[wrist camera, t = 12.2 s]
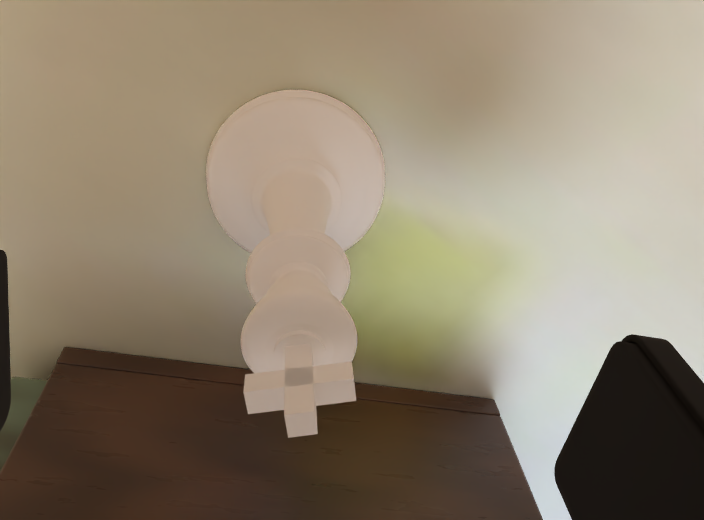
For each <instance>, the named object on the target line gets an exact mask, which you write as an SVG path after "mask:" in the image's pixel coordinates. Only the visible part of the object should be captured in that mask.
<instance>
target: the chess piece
mask: <svg viewBox="0 0 704 520" xmlns="http://www.w3.org/2000/svg"><path fill="white" fill-rule="evenodd" d="M206 181H207V191H208V197H209V201H210V205H211V207H212V210H213V213H214V215H215V217H216V219H217V220H218V222H219V224H220V225H221V227H222V228H223V229H224V231H225V232H226V233H227V234H228V235H229V236H230V238H231V239H232V240H234V241H235V242H236V243H237V244H238V245H239V246H241V247H242V248H244V249H245V250H247V251H248V252H250V253H251V255H250V257H249V259H248V261H247V265H246V272H245V277H246V284H247V287H248V290H249V292H250V294H251V296H252V298H253V300H254V301H255V303H256V305H255V307H254V308H253V309H252V311H251V312H250V314H249V315H248V317H247V319H246V321H245V323H244V326H243V329H242V333H241V350H242V354H243V357H244V359H245V362H246V363H247V365H248V367H249V368H250V369H251V371H252V372H253V374H245V381H244V391H243V393H244V398H245V402H246V407H247V412H248V414H254V413H262V412H270V411H278V410H284V417H285V423H286V428H287V434H288V438H290V437H298V436H306V435H314V434H318V431H317V410H316V406H319V405H327V404H335V403H343V402H351V401H356V393H355V384H354V375H353V368H352V360H353V358H354V356H355V353H356V349H357V331H356V327H355V324H354V321H353V319H352V317H351V315H350V314H349V312H348V311H347V309H346V308H345V307H344V306H343V304H342V303H341V301H342V299H343V298H344V296H345V294H346V292H347V289H348V287H349V283H350V276H351V271H350V264H349V261H348V258H347V256H346V254H345V252H344V251H346V250H348V249H349V248H351V247H352V246H353V245H354V244H356V243H357V242H358V241H359V240H360V239H361V238H362V237H363V236H364V235H365V234H366V232H367V231H368V230H369V229H370V227H371V226H372V224H373V222H374V221H375V219H376V217H377V215H378V213H379V210H380V207H381V204H382V201H383V196H384V188H385V164H384V159H383V154H382V151H381V148H380V145H379V143H378V140H377V138H376V136H375V135H374V133H373V131H372V130H371V128H370V127H369V126H368V124H367V123H366V122H365V121H364V119H363V118H362V117H361V116H360V115H359V114H358V113H356V112H355V111H354V110H353V109H352V108H350V107H349V106H347V105H346V104H344V103H343V102H341V101H339V100H337V99H335V98H333V97H330V96H328V95H325V94H322V93H318V92H314V91H308V90H281V91H276V92H271V93H268V94H265V95H262V96H259V97H257V98H255V99H253V100H251V101H249V102H247V103H246V104H244V105H243V106H241V107H240V108H238V109H237V110H236V111H235V112H234V113H232V114H231V115H230V116H229V117H228V119H227V120H226V121H225V122H224V123H223V125H222V126H221V127H220V129H219V130H218V132H217V134H216V135H215V137H214V139H213V142H212V144H211V147H210V150H209V154H208V158H207V165H206Z"/></svg>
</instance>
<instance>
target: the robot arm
mask: <svg viewBox="0 0 704 520" xmlns="http://www.w3.org/2000/svg"><path fill="white" fill-rule="evenodd" d="M10 404H11V376H10V342H9V307H8V272H7V256H6V253H5V252H4V251H3V250H0V431H1V429H2V428H3V426H4V424H5V422H6V419H7V417H8V413H9V409H10ZM555 480H556V484H557V486H558V489H559V491H560V493H561V495H562V498H563V500H564V502H565V505H566V507H567V509H568V511H569V514H570V516H571V518H572V520H704V383H703V382H702V381H701V379H700V378H699V377H698V376H697V375H696V373H695V372H694V371H693V370H692V369H691V367H690V366H689V365H688V364H687V363H686V361H685V360H684V359H683V358H682V357H681V355H680V354H679V353H678V352H677V351H676V349H675V348H674V347H673V346H672V345H671V343H669V342H668V341H667V340H664V339H659V338H652V337H646V336H639V335H628V336H626V337H625V338H624V339H623V340H622V342H616V343H615V344H614V345H613V346H612V348H611V349H610V351H609V353H608V355H607V357H606V359H605V361H604V363H603V365H602V368H601V370H600V372H599V374H598V376H597V378H596V380H595V382H594V384H593V386H592V388H591V390H590V392H589V394H588V396H587V398H586V401H585V403H584V405H583V407H582V409H581V411H580V413H579V415H578V417H577V419H576V421H575V423H574V425H573V427H572V429H571V432H570V434H569V436H568V438H567V440H566V442H565V444H564V446H563V448H562V450H561V452H560V454H559V456H558V458H557V461H556V464H555Z"/></svg>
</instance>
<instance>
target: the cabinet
mask: <svg viewBox="0 0 704 520" xmlns="http://www.w3.org/2000/svg"><path fill="white" fill-rule="evenodd" d="M245 374H253V372H252V371H251V370H248V369H240V368H232V367H224V366H216V365H208V364H199V363H191V362H183V361H175V360H167V359H159V358H151V357H143V356H134V355H126V354H118V353H110V352H102V351H94V350H86V349H78V348H69V347H64V349H63V351H62V353H61V355H60V357H59V358H58V360H57V364H56V365H55V367H54V369H53V371H52V373H51V375H50V377H49V379H48V381H47V383H46V385H45V387H44V388H43V390H42V392H41V394H40V396H39V398H38V400H37V402H36V404H35V406H34V408H33V410H32V412H31V413H30V415H29V417H28V419H27V421H26V423H25V425H24V427H23V429H22V431H21V433H20V435H19V437H18V438H17V440H16V442H15V444H14V446H13V448H12V450H11V452H10V454H9V456H8V458H7V460H6V462H5V464H4V465H3V467H2V469H1V471H0V520H543V519H542V516H541V514H540V511H539V509H538V507H537V504H536V502H535V499H534V497H533V494H532V492H531V490H530V487H529V485H528V482H527V480H526V477H525V475H524V472H523V470H522V468H521V465H520V463H519V460H518V458H517V455H516V453H515V451H514V448H513V446H512V443H511V441H510V438H509V436H508V434H507V431H506V429H505V426H504V424H503V421H502V419H501V417H500V413H499V410H498V408H497V405H496V403H495V400H492V399H484V398H476V397H468V396H459V395H451V394H443V393H435V392H427V391H419V390H411V389H403V388H394V387H386V386H378V385H370V384H362V383H354V384H355V393H356V401H351V402H343V403H335V404H327V405H319V406H316V410H317V431H318V434H314V435H306V436H298V437H290V438H288V434H287V428H286V423H285V417H284V410H278V411H270V412H262V413H254V414H248V412H247V407H246V402H245V398H244V393H243V391H244V381H245Z"/></svg>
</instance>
